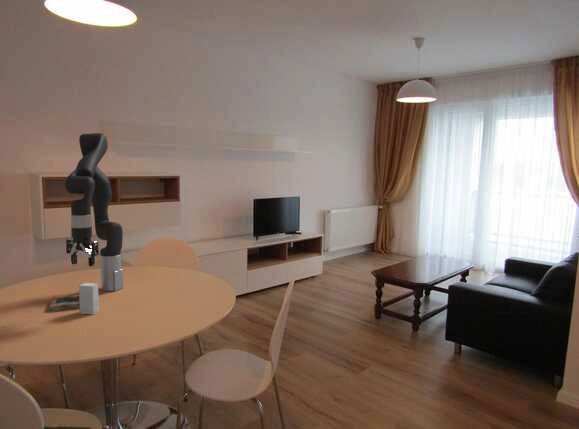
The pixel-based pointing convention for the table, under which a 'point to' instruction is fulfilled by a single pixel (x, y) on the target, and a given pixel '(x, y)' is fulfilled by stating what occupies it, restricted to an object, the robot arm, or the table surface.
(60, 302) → the tray
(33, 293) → the table surface
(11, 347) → the table surface
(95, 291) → the skincare box
